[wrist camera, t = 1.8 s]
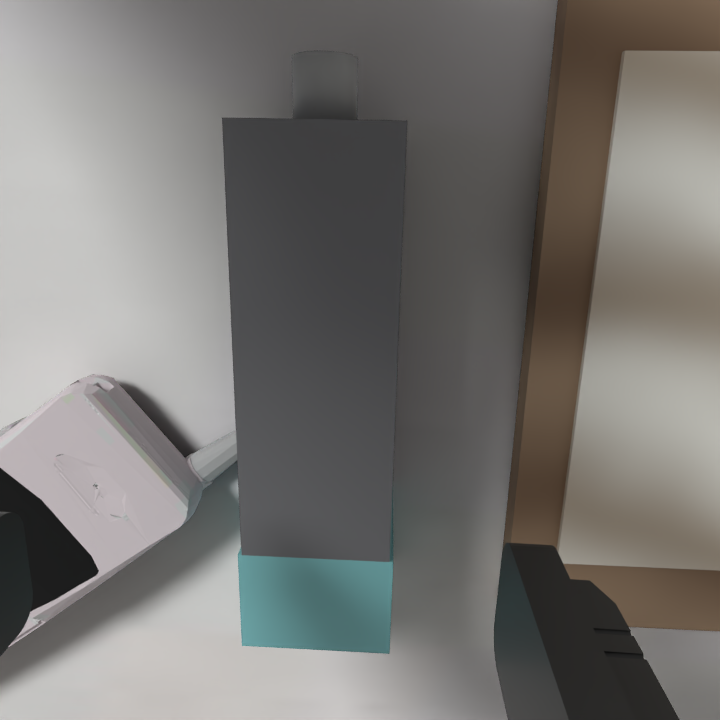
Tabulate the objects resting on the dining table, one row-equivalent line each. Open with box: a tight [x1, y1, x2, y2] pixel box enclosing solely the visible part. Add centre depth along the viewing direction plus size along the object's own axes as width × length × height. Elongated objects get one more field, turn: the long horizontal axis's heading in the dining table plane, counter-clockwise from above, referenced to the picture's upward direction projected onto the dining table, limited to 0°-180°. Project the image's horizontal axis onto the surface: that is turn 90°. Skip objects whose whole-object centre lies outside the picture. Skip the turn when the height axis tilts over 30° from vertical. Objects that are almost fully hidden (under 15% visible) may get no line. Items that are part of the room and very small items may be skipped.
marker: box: [222, 51, 407, 654], centre depth 17 cm, size 16×4×4 cm, turn 179°
